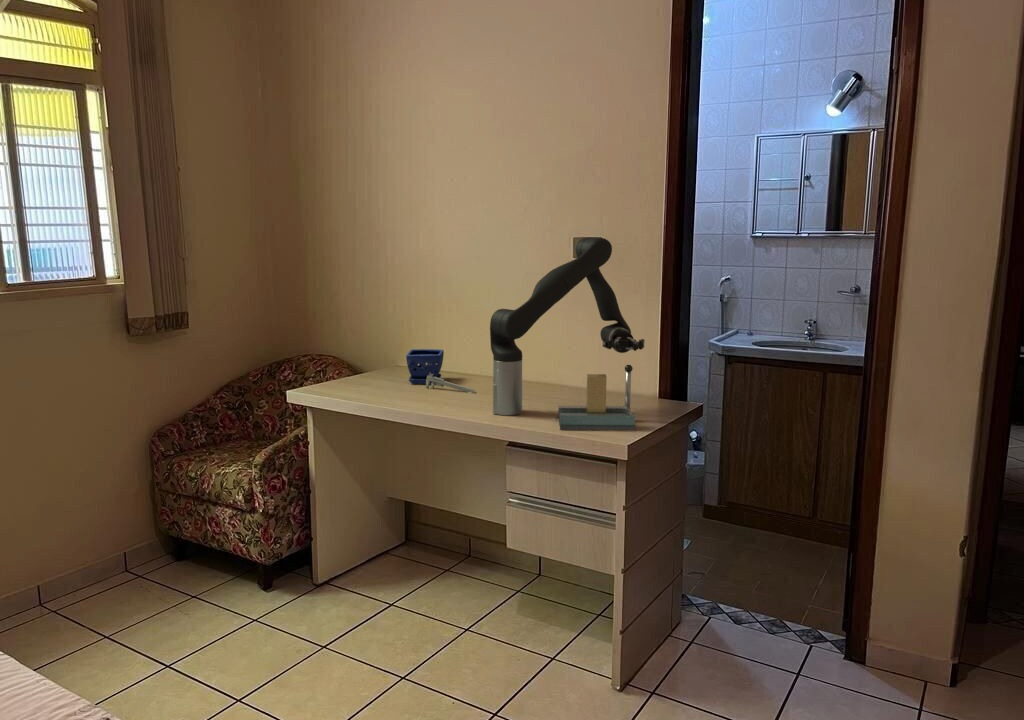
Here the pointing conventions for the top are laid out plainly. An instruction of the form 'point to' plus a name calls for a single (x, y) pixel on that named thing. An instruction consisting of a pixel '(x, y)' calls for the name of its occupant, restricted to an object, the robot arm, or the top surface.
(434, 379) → the caliper
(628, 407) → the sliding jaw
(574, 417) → the vise
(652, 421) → the top surface
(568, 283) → the robot arm
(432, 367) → the flower pot
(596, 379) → the block
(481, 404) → the top surface
